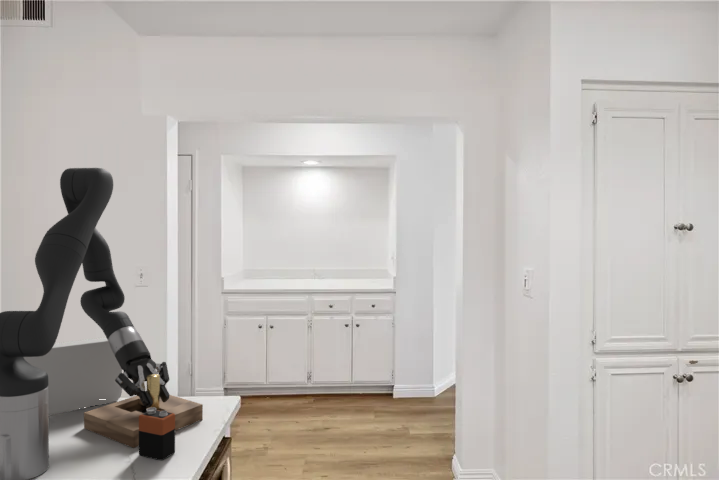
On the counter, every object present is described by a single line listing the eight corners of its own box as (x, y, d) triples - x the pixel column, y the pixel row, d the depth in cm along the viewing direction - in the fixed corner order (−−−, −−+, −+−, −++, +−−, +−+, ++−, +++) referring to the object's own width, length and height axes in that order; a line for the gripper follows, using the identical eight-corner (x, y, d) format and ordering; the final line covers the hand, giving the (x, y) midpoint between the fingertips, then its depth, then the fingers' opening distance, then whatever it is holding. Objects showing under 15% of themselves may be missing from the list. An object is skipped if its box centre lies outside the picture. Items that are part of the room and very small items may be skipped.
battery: (152, 447, 114) (152, 404, 114) (176, 452, 112) (176, 408, 111) (137, 455, 110) (137, 411, 110) (162, 461, 107) (162, 415, 107)
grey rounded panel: (115, 393, 149) (115, 334, 148) (122, 401, 143) (122, 339, 143) (-3, 416, 131) (-3, 348, 130) (0, 425, 125) (-1, 354, 124)
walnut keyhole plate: (133, 448, 113) (133, 430, 113) (84, 428, 124) (84, 412, 124) (202, 419, 131) (202, 404, 130) (153, 404, 141) (153, 390, 141)
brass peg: (150, 432, 122) (150, 380, 121) (137, 427, 125) (137, 376, 124) (168, 425, 126) (168, 375, 126) (155, 421, 129) (155, 371, 129)
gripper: (109, 344, 122) (139, 403, 117) (159, 334, 135) (189, 386, 129) (96, 362, 125) (126, 420, 120) (146, 350, 138) (175, 402, 132)
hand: (158, 402), depth 124 cm, fingers open, 4 cm apart
